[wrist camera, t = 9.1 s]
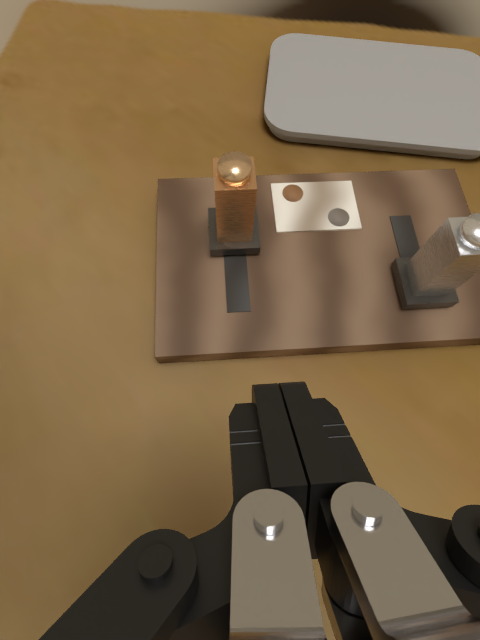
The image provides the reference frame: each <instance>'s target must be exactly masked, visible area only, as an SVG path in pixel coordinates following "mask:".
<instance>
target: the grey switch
mask: <svg viewBox="0 0 480 640" xmlns="http://www.w3.org/2000/svg"><path fill="white" fill-rule="evenodd" d="M391 266H392V270H393V274H394V278H395V282H396V287H397V291H398V295H399V299H400V303H401V307H402V309H419V308H438V307H453V306H454V305H456V304H457V303H459V299H458V296H457V293H456V289H457V288H458V287H460V286H461V285H462V284H464V283H465V282H466V281H468V280H469V279H470V278H472V277H473V276H474V275H476V274H477V273H478V272H480V213H474V214H471V215H470V216H468V217H451V218H447V219H446V220H445V222H444V223H443V224H442V225H441V226H440V227H439V228H438V229H437V230H436V232H435V233H434V234H433V235H432V236H431V237H430V238H429V239H428V240H427V242H426V243H425V244H424V245H423V246H422V247H421V248H420V249H419V250H418V251H417V253H416V254H415V255H414V256H413V257H408V258H395V260H394V261H393V262H392V263H391Z"/></svg>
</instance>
